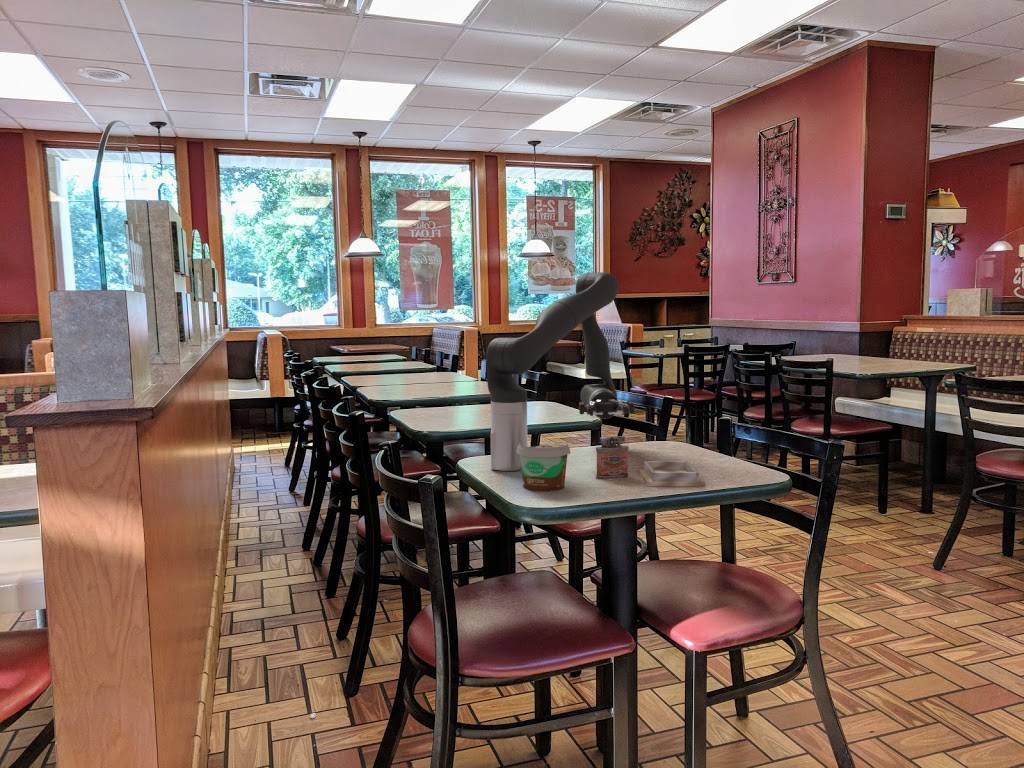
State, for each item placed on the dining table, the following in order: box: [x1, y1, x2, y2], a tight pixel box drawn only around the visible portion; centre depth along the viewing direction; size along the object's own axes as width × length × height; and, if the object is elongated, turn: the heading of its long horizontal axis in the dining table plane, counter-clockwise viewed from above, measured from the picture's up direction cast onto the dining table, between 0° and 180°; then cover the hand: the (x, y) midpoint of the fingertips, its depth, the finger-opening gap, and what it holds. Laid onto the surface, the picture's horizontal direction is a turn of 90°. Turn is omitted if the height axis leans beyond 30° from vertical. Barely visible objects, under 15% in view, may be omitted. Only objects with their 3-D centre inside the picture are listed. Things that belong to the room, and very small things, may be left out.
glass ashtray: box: [638, 460, 706, 487], centre depth 178 cm, size 13×14×3 cm
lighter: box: [595, 435, 629, 481], centre depth 180 cm, size 8×3×10 cm, turn 104°
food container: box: [517, 442, 571, 493], centre depth 169 cm, size 12×6×10 cm, turn 76°
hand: (608, 411), depth 190 cm, fingers open, 8 cm apart
